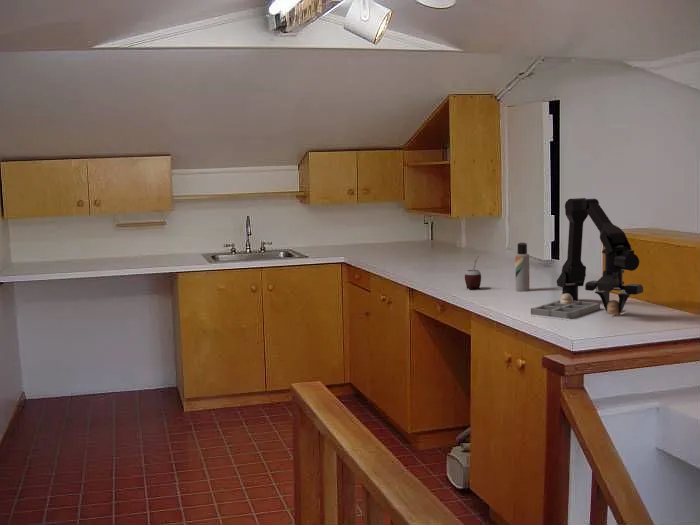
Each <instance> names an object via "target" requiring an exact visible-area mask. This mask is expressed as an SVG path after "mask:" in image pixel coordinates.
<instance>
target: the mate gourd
mask: <svg viewBox="0 0 700 525" xmlns="http://www.w3.org/2000/svg"><path fill="white" fill-rule="evenodd" d="M479 257H480V255H477V257H475V259H474V261H473V262H474V264H473V268H472V269H469V270H465V274H464V282H465V285H466V288H470V289H469V291H473V290H477V289H480V290H481V282H482V274H481V272H480V270H478V269H476V263H477V260H478V258H479ZM472 289H473V290H472Z"/></svg>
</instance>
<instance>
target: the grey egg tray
mask: <svg viewBox="0 0 700 525" xmlns="http://www.w3.org/2000/svg"><path fill="white" fill-rule="evenodd" d="M598 310H601V303H599V302H591V301H581V300H580V301H573V303H572V304H564V303H560V299H559V300H556V301H553V302H548V303H546V304H542V305H539V306H535V307H532V308H530V315H531V316H539V317H543V318H545V319H547V318H550V317H551V319H553V320H555V318H556V319H560V320H561V321H562V320H567V319H568V320H571V319H574V318H577V317H580V316H583V315H585V314H590V313H592V312H595V311H598Z"/></svg>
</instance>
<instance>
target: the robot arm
mask: <svg viewBox="0 0 700 525" xmlns="http://www.w3.org/2000/svg"><path fill="white" fill-rule="evenodd" d="M564 208H565V210H564V212H565V213H564V214H565V217H566V218H567V220H568V221H569V223H568V238H567V239H568V241H567V242H568V244H567V256H566V257H567V258H566V261H565V262H564V263H563V265H562V267H561V273H560V274H559V276H558V278H557V279H556V286H557V287H559V288H562V294H561V296H562V295H563V294H565V293H568V294H570V295H571V296H572V298H573V301H582V300H581V299H579V287H585V288H584V289H585V291H592V292H593V291H594V290H595V291H594V293H595V294H597V295H598V296H599V297H600V299H601V302H602V305H603V307H604V309H605V312H607V304H608V302H609V301H610V293H611V291H619V292H620V293H618V294H617V296H618V302H619V313H620V314H621V313H622V312H623V309H624V308H625V306H626V303H627V301H628V299H629V297H630V296H631V295H639V294H643V293H644V286H643V284H640V283H630V284H626V285H625V281H623V280H624V279H623V275H624V273H625V271H631V272H633V271H636V270H637V269H638V267H639V266H640V259H639V257H638V255H636V254H635V250H633V249H632V246H631V244H630V242H629V240H628V237H627V235H626V232H624V231H623V229H622V228H621V227H619V226H617V225H615V224H613V222H612V221H611V220H610V218H609V217H608V215H607V214H606V212H605V211H604V210H603V208H602V207H601V206H600V202H599V200H598V199H596V198H585V197H579V198H569V199H567V201H565V203H564ZM588 216H589V218H590V220H592V222H593V223H594V225H595V227H596V229H597V230H598V232H599V239H600V242H601V244H602V246H603V247H604V249H603V250H602V251H601V253H602V254H604V255H605V256H604V264H605V265H604V266H605V267H604V270H603V272H602V276H601V277H600V278H599V279H597V280H590V281H587V282H586V283H585V279H586V276H587V275H586V273H587V267H586V265H584V263H583V262H582V251H583V250H582V249H583V233H584V232H583V230H584V222H585V221H586V219H587V218H588ZM584 284H585V285H584ZM582 302H583V301H582Z"/></svg>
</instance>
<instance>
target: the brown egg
mask: <svg viewBox="0 0 700 525" xmlns="http://www.w3.org/2000/svg"><path fill="white" fill-rule="evenodd" d="M606 314H607V315H612V317H620V316H621V313H619V300H615V299H611V300H609V302H608V304H607V311H606Z"/></svg>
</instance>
